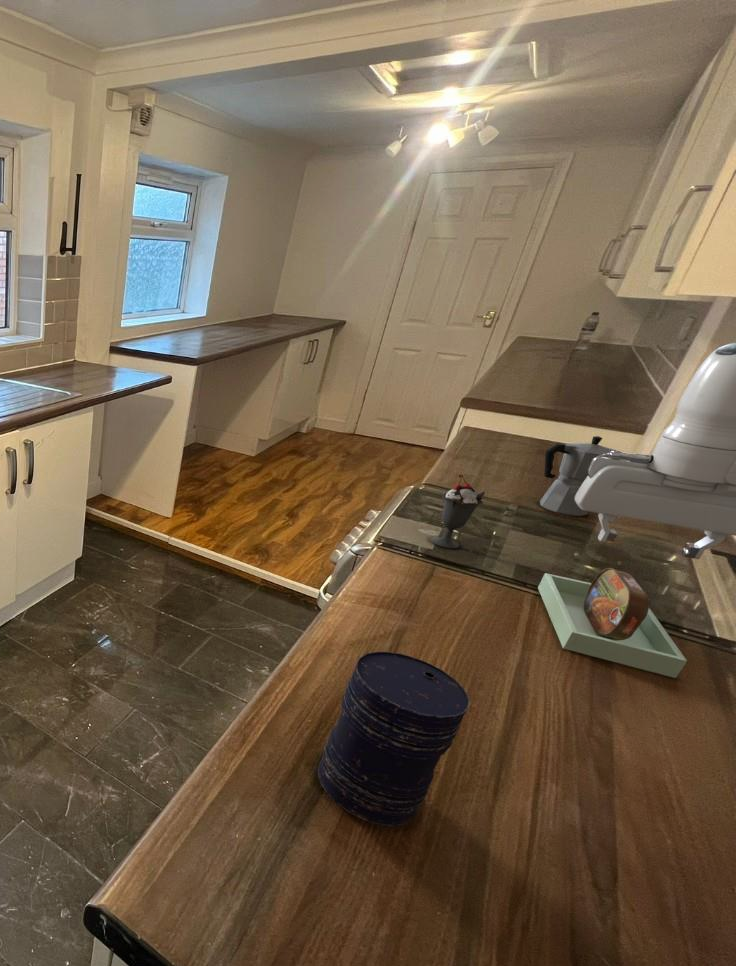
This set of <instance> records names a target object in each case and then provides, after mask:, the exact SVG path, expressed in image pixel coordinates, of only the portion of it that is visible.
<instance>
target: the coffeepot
mask: <svg viewBox="0 0 736 966" xmlns="http://www.w3.org/2000/svg"><path fill="white" fill-rule="evenodd" d="M602 440H603V437H601V436H599V435H596V436H595V435H594V436H592V440H591V443H590V442H589V443H588V442H587V443H586V442H585V443H584V442H583V443H581V442H578V443H575V442H574V443H566V444H563V443H556V444H554V445H552V446H550V447H549V448H547V449H546V450H545V452H544V453H545V454H544V474H543V476H544V477H545V478H547V479H554V478H556V477H557V475H556V474H554V473H552V470H553V468H554V459H555V454H557V453H561V454H563V455H562V459H561V462H560V467H559V470H558V472H559V475H558V478H557V479H555V480H554V481H553V482H552V484H551V485H550V486H549V488H548V489H547V490H546V492H545V493H544V495H543V496H542V497H541V499H540V500H539V504H540V506H541V507H542V508H543V509H545V510H548V511H551V512H554V513H557V514H561V515H565V516H574V517H582V516H583V517H585V516H587V515H589V514H590V513H589V512H590V511H584V510H582V509H580V507H579V506H578V505H577V504H576V502H575V495H576V493H577V492H578V490H579V488H580V487H581V485H582V483H583V482H584V481H585V479H586V478H587V476H588V473H587V472H588V468H589V466H590V464H591V462H592V460H593V459H594V458H595V457H597V456H599V455H601V454H605V453H610V452H611V451H618V452H621V451H620V450H616V449H613V448H609V447H607V446H606V447H605V446H603V445H600V443H601V441H602ZM604 457H606V458H608V456H604Z"/></svg>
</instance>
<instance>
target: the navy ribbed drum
mask: <svg viewBox="0 0 736 966" xmlns="http://www.w3.org/2000/svg"><path fill="white" fill-rule="evenodd" d="M469 707H470V698H469V694H468V693H467V691H466V689H465V688H464V687H463V685H462V684H461V683H459V681H457V680H456V679H455V678H454V677H453V676H451V674H449V673H447V672H446V671H444V670H443V669H442V668H439V667H437V666H436V665H434V664H432V663H429V662H427V661H426V660H422V659H419V658H417V657H414V656H412V655H411V656H410V655H408V654H403V653H399V652H393V651H371V652H368V653H366V654H363V655H362V656H360V657H359V658H358V660H357V661H356V664H355V666H354V670H353V671H352V675H351V677H350V679H349V680H348V681H347V685H346V688H345V691H344V694H343V696H342V699H341V711H340V715H339V717H338V720H337V722H336V725H334V726H333V727H332V729H331V732H330V734H329V736H328V738H327V739H326V742H325V745H324V747H323V751H322V757H321V760H320V762H319V764H318V768H317V775H318V780H319V782H320V785H321V786H322V788H323V790H324V791H325V792H326V794H327V795H328V796H329V797H330V798H331V799H332V800H333V802H335V803H336V804H337V805H338V806H339V807H340V808H342V809H344V810H345V811H346V812H348V813H349V814H351V815H353V816H355V817H356V818H359V819H360V820H363V821H366V822H369V823H371V824H375V825H379V826H384V827H385V826H386V827H397V826H402V825H405V824H407V823H409V822H411V821H412V819H414V818H415V815H416V813H417V811H418V808H419V807H420V806H421V804H422V803H423V802H424V801H425V798H426V797H427V795H428V792H429V790H430V785H431V783H432V782H433V780H434V776H435V769H436V767H437V765H438V763H439V760H440V759H441V756H443V755H444V754H445V753H446V752H448V750H449V749H450V747H451V746H452V745H453V740H454V739H455V738H456V736H457V734H458V732H459V730H460V727H461V724H462V721H463V719H464V716H466V713H467V711H468V709H469Z"/></svg>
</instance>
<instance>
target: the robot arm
mask: <svg viewBox="0 0 736 966" xmlns="http://www.w3.org/2000/svg"><path fill="white" fill-rule="evenodd" d="M618 451H619V450H616V451H611V452H610V453H605V454H601V455H599V456H597V457H595V458H594V459H593V460H592V462H591V464H590V466H589V468H588V472H587V473H588V476H587V478H586V479H585V481H584V482H583V483H582V485H581V487H580V488H579V490H578V492H577V493H576V495H575V502H576V504H577V505H578V506H579V507H580V509H582V510H584V511H589V512H591V513H596V514H598V515H597V517H598V521H599V524H600V527H601V530H600V532H599V533H598V536H597V539H598V541H599V542H602V543H607V544H614V542H615V539H616V538H617V537H618V535H619V533H618V532H617V531H616V530H615V529H614V528H613V529H612V528H611V527H610V523H614V522H615V521H616V519H617V517H619V518H627V519H633V520H637V521H644V522H651V523H656V524H662V525H668V526H673V527H680V528H686V529H693V530H699V531H704V534H705V535H706V536H704V537H703V538H701V539H699V540H698V541H697V542H694V543H693V542H686V543H685V545H684V548H682V550H681V556H683V557H684V558H689V559H694V560H699V559H701V557H702V555H703V554H704V552H705V551H706V550H709V549H710V548H713V547H714V546H716V545H719V544H720V543H722V542H724V540H725V539H726V537H727V536H733V537H734V536H735V537H736V342H731V343H728V344H726V345H723V346H720V347H718V348H716V349H715V350H714V351H712V352H711V353H710V354H709V355H708V356H707V357H706V358H705V359H704V361H703V362H702V363H701V364H700V366H699V367H698V368H697V370H696V371H695V373H694V374H693V376H692V377H691V379H690V380H689V383H688V384H687V386H686V387H685V390H684V391H683V393H682V395H681V397H680V399H679V400H678V403H677V405H676V413H675V415H674V418H673V420H672V421H671V423H670V424H669V425H667V426H666V428H665V429H664V430H663V431H662V433H661V435H660V437H659V438H658V441H657V443H656V444H655V446H654V448H653V451H652V452H651V454H650V455H649V454H641V453H628V452H627V453H626V452H623V451H620V452H618ZM604 456H608V458H606V457H604ZM609 522H610V523H609Z"/></svg>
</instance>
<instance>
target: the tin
mask: <svg viewBox="0 0 736 966" xmlns="http://www.w3.org/2000/svg"><path fill="white" fill-rule="evenodd" d="M590 583H591V585H590V587H589V589H588V591H587V594H586V597H585V600H584V611H585V613H586V615H587V616H588V618H589V620H590V622H591V624H592V626H593V627H594V629H595V631H596V633H597V634H598V635H601V636H606V637H609V638H613V639H617V640H625V639H628V638H630V637H631V636H632V635H633V633H634V632H635V631H636V630H637V628H638V627H639V626H640V624H641V623H642V621H643V620H644V619H645V618H646V616H647V613H648V609H649V608H650V598H649V596H648V594H647V593H646V592H645V590H644V589H643V588H642V586H641V585H640V584H639V582H638V581H637V580H636V579H635V578H634V576H633V575H632V574H631V573H628V572H625V571H621V570H618V569H614V568H613V567H607V568H604V569H603V570H601V571H600V572H599V573H598V574H597V575H596V576H595V577H594V579H593V580H592V581H591V582H590Z"/></svg>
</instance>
